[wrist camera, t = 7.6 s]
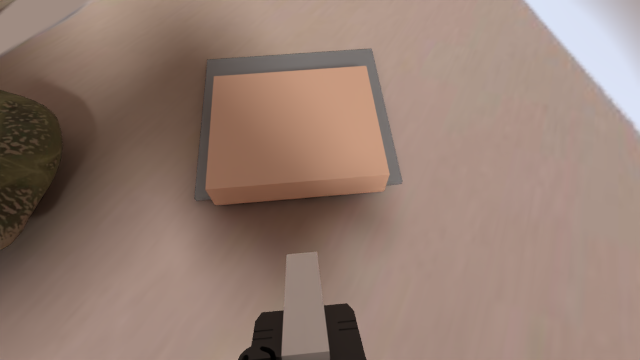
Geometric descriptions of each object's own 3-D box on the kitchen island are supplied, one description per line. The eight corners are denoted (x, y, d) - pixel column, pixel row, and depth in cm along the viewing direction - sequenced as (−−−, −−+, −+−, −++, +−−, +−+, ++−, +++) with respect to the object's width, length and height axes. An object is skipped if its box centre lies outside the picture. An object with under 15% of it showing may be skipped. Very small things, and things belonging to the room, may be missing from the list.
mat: (401, 183, 26) (402, 181, 26) (196, 200, 25) (194, 198, 25) (371, 52, 33) (371, 48, 32) (208, 63, 32) (207, 59, 32)
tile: (389, 174, 23) (366, 65, 28) (205, 189, 23) (213, 76, 27) (383, 191, 25) (363, 87, 30) (215, 205, 25) (221, 97, 30)
